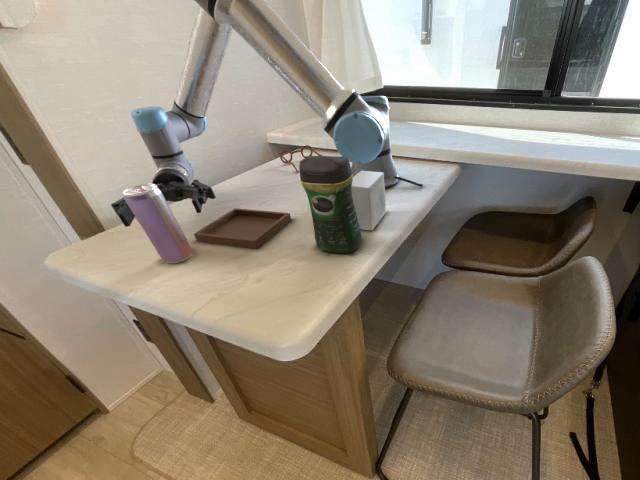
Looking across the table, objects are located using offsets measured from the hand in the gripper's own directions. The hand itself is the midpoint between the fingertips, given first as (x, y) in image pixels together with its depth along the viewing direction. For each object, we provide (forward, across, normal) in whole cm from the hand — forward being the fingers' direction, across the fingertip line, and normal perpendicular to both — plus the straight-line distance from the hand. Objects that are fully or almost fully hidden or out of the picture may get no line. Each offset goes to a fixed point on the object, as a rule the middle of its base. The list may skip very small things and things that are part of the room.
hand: (161, 213), depth 66 cm
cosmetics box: (+8, -43, -8) cm, 45 cm away
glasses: (-49, -38, -8) cm, 62 cm away
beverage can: (+5, 0, -8) cm, 10 cm away
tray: (-2, -14, -8) cm, 17 cm away
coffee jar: (+16, -33, -8) cm, 38 cm away
